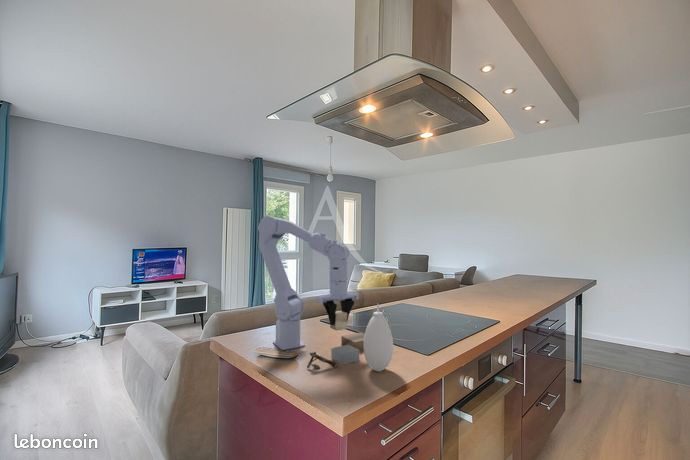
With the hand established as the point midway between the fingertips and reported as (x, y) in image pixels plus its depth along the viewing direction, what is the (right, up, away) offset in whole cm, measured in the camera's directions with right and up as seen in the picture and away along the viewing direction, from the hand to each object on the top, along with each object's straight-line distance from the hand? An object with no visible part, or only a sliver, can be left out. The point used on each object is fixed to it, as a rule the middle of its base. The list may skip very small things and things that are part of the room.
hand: (338, 323), depth 101 cm
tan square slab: (+6, -9, +4) cm, 11 cm away
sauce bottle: (+11, -8, -16) cm, 21 cm away
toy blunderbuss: (-4, -8, -15) cm, 18 cm away
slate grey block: (+2, -8, -8) cm, 12 cm away
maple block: (0, -2, 0) cm, 2 cm away
